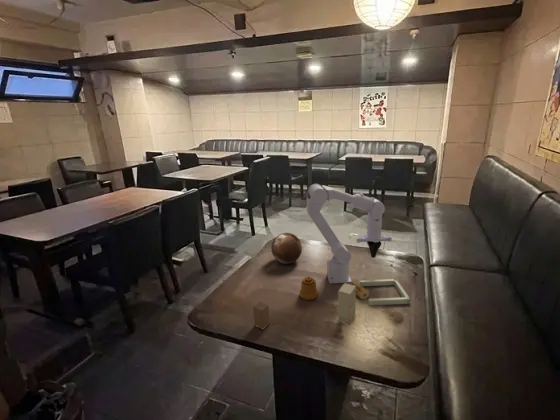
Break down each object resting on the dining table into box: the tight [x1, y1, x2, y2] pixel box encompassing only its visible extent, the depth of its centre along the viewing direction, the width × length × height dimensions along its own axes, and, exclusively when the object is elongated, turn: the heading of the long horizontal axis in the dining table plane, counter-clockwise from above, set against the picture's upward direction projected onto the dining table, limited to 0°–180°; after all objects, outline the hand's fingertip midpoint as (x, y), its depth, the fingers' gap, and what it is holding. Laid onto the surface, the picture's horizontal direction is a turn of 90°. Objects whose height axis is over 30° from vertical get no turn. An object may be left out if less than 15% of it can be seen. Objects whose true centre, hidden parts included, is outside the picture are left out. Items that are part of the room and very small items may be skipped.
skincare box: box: [337, 283, 357, 325], centre depth 106 cm, size 6×4×12 cm
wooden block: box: [252, 301, 271, 328], centre depth 105 cm, size 4×4×8 cm
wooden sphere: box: [271, 232, 303, 265], centre depth 149 cm, size 15×15×15 cm
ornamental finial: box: [299, 276, 319, 301], centre depth 121 cm, size 8×8×8 cm
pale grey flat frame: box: [359, 278, 411, 306], centre depth 121 cm, size 15×14×2 cm
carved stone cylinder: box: [350, 280, 370, 300], centre depth 121 cm, size 8×4×4 cm, turn 18°
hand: (373, 256), depth 132 cm, fingers closed
